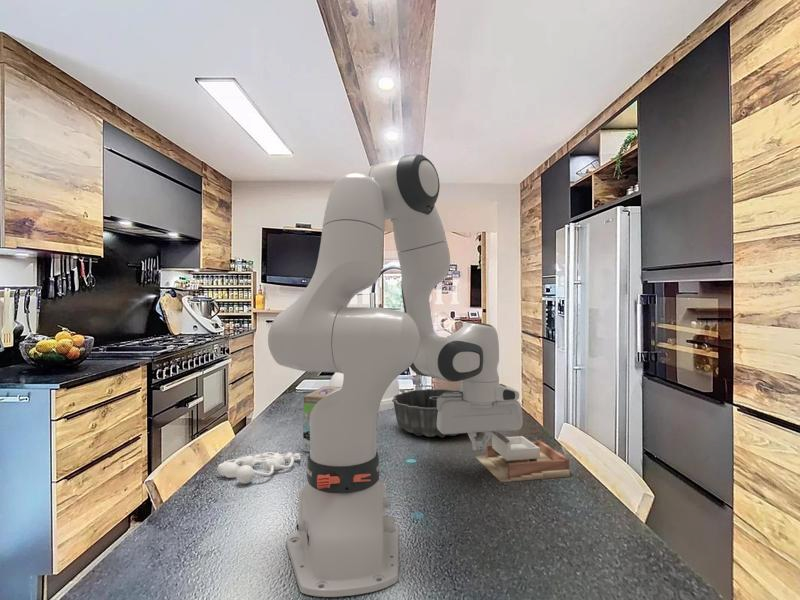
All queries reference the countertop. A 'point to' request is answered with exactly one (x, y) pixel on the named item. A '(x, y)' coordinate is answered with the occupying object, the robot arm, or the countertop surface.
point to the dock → (527, 465)
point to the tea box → (309, 403)
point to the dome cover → (387, 397)
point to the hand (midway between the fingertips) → (479, 450)
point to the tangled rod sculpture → (246, 470)
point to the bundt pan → (419, 411)
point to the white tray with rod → (514, 448)
